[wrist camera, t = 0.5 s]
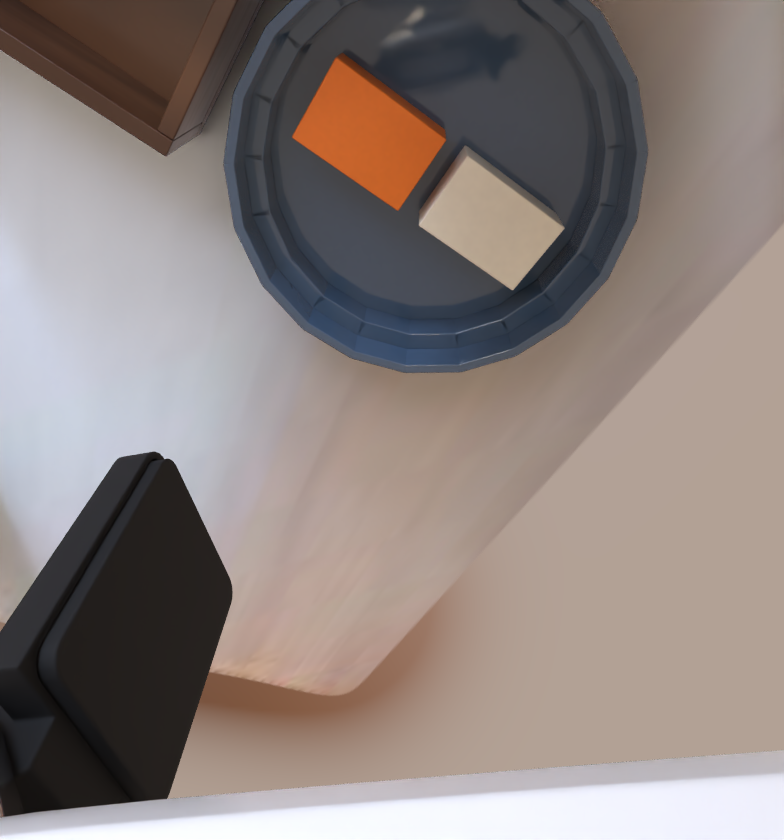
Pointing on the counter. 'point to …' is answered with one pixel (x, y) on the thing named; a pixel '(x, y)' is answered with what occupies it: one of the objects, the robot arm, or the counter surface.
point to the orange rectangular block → (369, 132)
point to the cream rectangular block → (489, 219)
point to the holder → (133, 57)
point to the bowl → (437, 172)
